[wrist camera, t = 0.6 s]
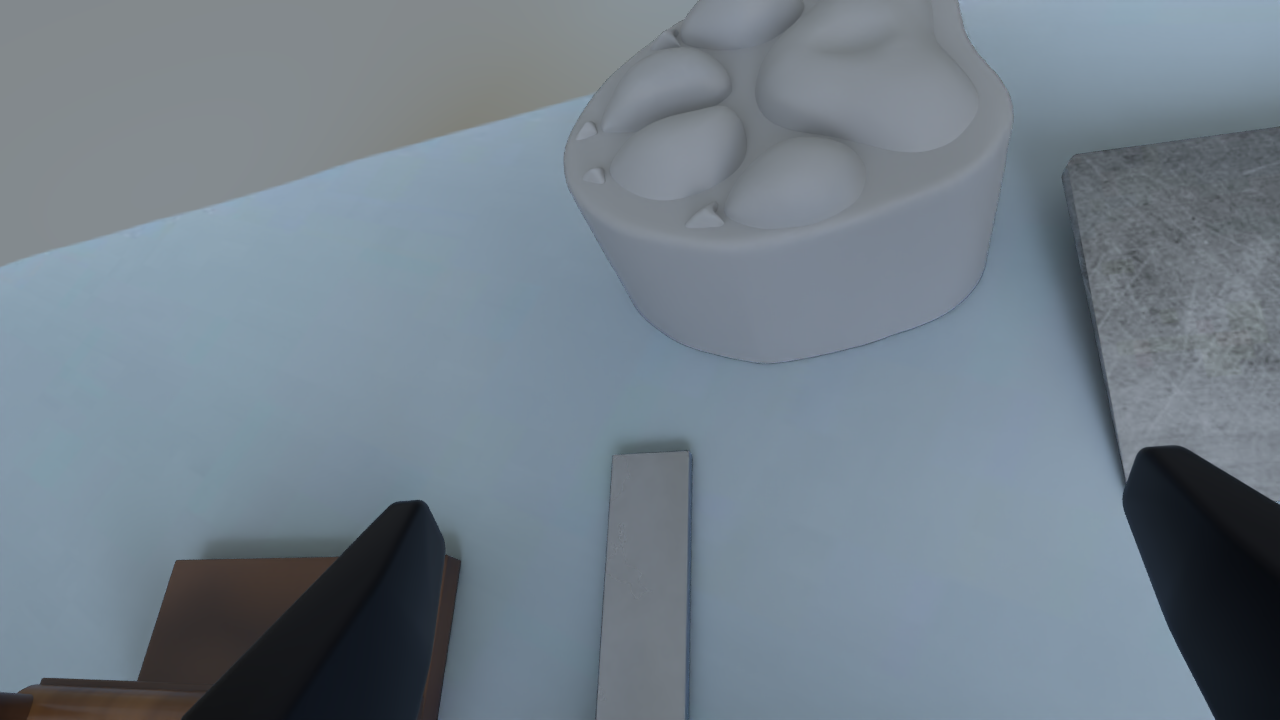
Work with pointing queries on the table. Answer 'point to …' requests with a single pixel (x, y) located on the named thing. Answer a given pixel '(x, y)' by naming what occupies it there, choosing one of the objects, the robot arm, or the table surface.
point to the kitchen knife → (647, 589)
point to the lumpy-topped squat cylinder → (795, 173)
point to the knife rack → (209, 642)
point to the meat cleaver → (1187, 295)
